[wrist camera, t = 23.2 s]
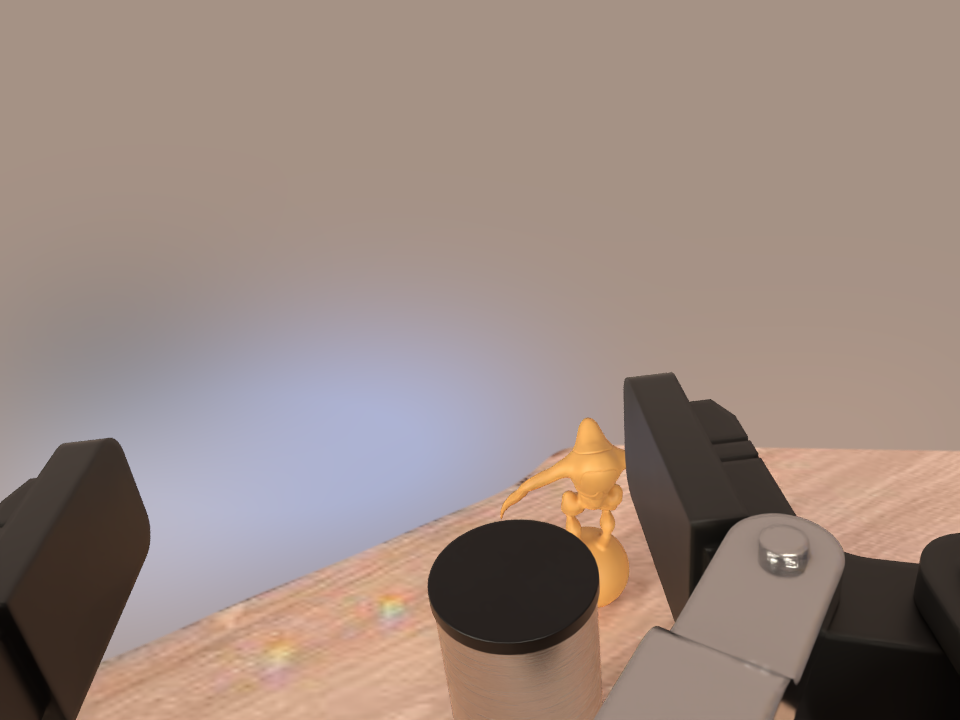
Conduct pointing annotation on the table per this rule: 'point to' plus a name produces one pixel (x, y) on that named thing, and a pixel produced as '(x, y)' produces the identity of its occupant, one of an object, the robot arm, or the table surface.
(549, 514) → the table surface
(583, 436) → the figurine
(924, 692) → the robot arm
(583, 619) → the canister
